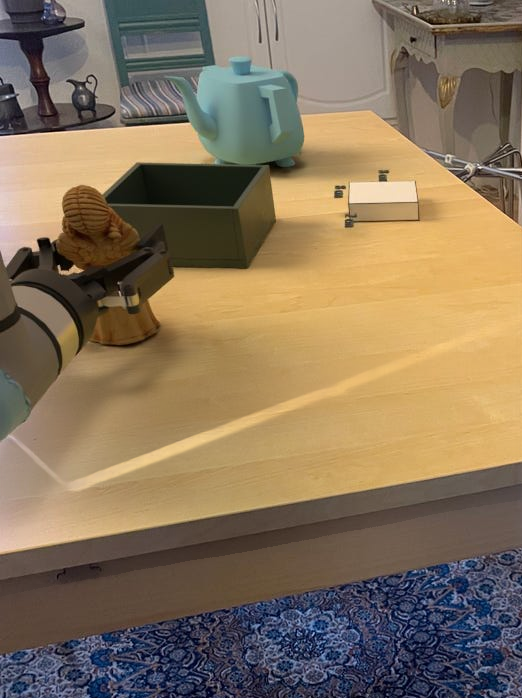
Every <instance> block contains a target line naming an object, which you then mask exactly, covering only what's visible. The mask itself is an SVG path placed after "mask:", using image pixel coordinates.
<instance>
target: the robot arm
mask: <svg viewBox="0 0 522 698" xmlns="http://www.w3.org/2000/svg"><path fill="white" fill-rule="evenodd" d="M66 234H67V233H66ZM57 240H58V238H57V239H54V240H52V242H51V239H50V237H47V236H45V237H44V236H42V237H39V238H37V239H36V243H37V246H38V251H37V250H36V251H33V249H32V247H30V246H22V247H20V248H18V250H17V251H16V253H15V254H14V255H13V257H12V258H11V259H10V261H9V263H8V264H7V265H5V262H4V258H3V254H2V251H1V250H0V443H1V442H2V441H4V440H5V439H6V438H8V437H9V435H10V434H12V433H13V431H15V430H16V429H17V428H18V427H19V426H20V425H22V424H23V423H25V422H26V421H27V420H28V418H29V417H30V415H31V412H32V411H33V409H34V408H35V407H36V405H37V404H38V402H39V401H40V400H41V399H42V398H43V396H44V395H45V394H46V392H47V391H48V390H49V388H51V386H53V384H54V383H55V381H56V380H57V379H58V378H59V376H60V375H61V374H62V373H63V372H64V370H66V368H67V367H68V366H69V364H70V363H71V362H72V361H73V359H74V358H75V357H76V356H77V355H79V353H80V352H81V351H82V349H84V347H85V346H86V345H87V344H88V342H89V341H90V340H89V339H90V338H91V336H92V334H93V332H94V328H95V325H96V321H97V318H98V317H99V316H101V315H103V314H105V313H107V312H108V311H109V309H110V307H115V306H123V308H124V309H127V313H128V314H137V313H139V312H140V311H141V308H142V304H143V303H144V302H146V301H147V300H148V301H149V299H150V298H151V297H153V296H154V295H155V294H157V292H158V291H160V290H161V289H163V287H164V286H166V285H167V284H169V282H170V281H171V280H172V279H174V278H175V272H174V267H173V266H172V262H171V257H170V253H169V251H168V246H167V242H166V237H165V232H164V228H163V223H155V224H154V225H153V227H152V228H151V229H150V230H149V231H148V232H147V233H146V234H145V236H144V237H143V238H142V239H141V240H140V241H139V242H138V243H137V244H136V248H137V251H136V252H134V253H132V254H130V255H128V256H126V257H124V258H122V259H119V260H117V261H115V262H113V263H111V264H109V265H107V266H105V267H103V268H102V267H98V266H92V267H90V268H88V269H86V270H82V271H80V272H71V273H69V274H63V273H60V271H61V272H69V271H70V270H71V269H72V268H73V267H74V266H75V265H74V263H73V261H72V260H68V259H66V258H65V256H63V255H61V254H59V253H58V251H57V248H56V242H57Z"/></svg>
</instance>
